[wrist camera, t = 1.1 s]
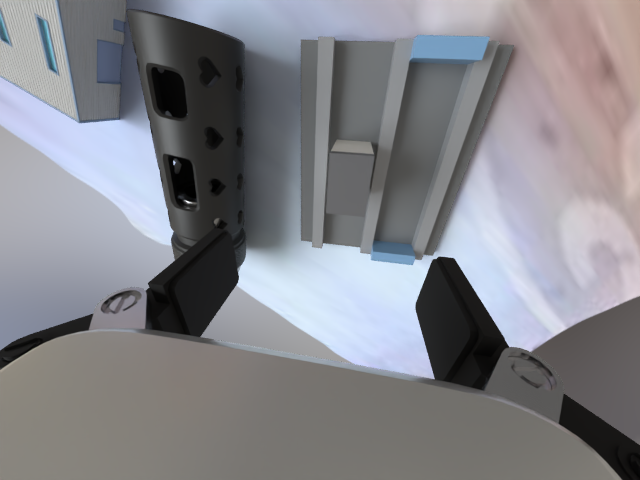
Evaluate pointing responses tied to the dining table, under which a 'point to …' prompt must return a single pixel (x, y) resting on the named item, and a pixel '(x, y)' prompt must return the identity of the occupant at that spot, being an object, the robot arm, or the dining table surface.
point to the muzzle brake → (194, 124)
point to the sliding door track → (394, 134)
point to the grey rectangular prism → (349, 177)
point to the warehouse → (65, 54)
